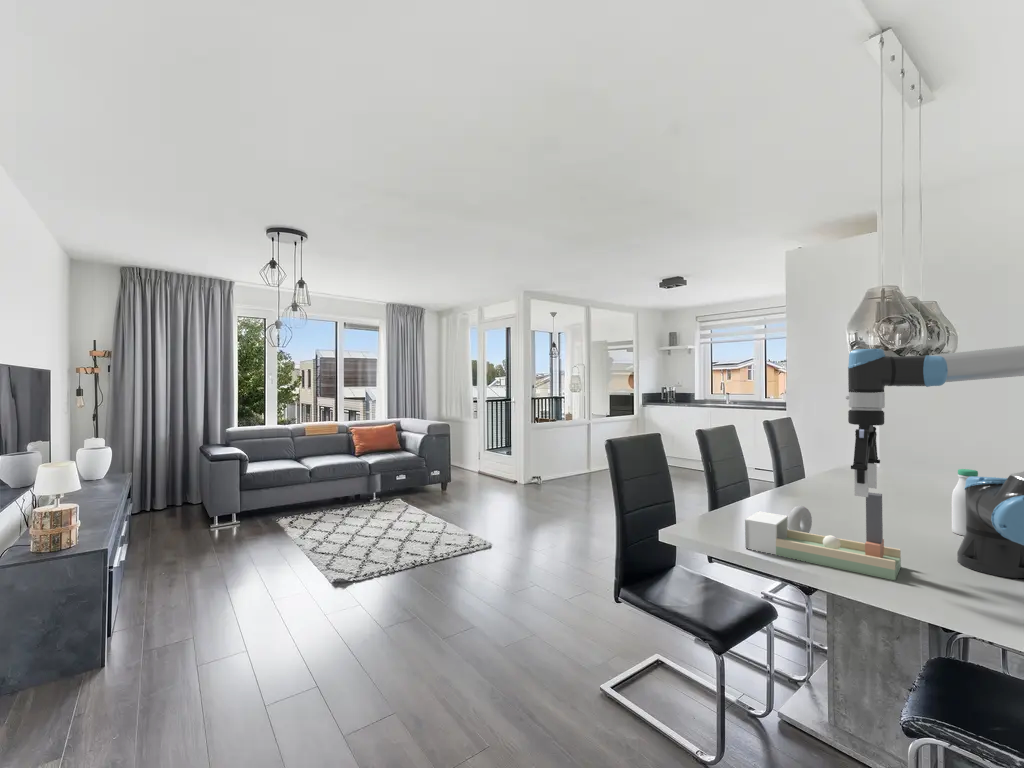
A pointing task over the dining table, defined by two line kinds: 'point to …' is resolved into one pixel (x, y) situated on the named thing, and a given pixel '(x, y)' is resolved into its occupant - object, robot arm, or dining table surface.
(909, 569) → the dining table surface
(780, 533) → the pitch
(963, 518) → the milk bottle
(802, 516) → the donut
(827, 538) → the ball
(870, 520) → the striker
